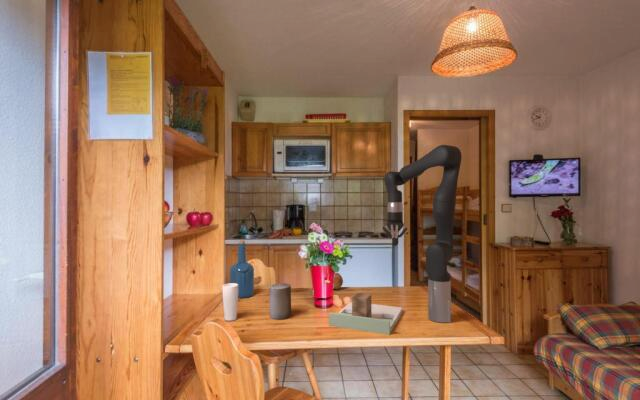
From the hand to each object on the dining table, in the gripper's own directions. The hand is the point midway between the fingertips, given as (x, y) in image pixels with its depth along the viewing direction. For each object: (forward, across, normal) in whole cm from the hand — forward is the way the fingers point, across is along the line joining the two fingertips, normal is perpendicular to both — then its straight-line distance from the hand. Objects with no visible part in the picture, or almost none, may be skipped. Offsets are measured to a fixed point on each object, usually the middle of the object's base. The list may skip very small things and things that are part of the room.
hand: (395, 245), depth 171 cm
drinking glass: (+29, -62, -51) cm, 85 cm away
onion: (+29, -38, +14) cm, 50 cm away
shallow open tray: (+29, -7, -26) cm, 40 cm away
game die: (+29, -38, -8) cm, 49 cm away
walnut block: (+27, -7, -35) cm, 45 cm away
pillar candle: (+29, -44, -39) cm, 66 cm away
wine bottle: (+29, -80, -18) cm, 87 cm away
